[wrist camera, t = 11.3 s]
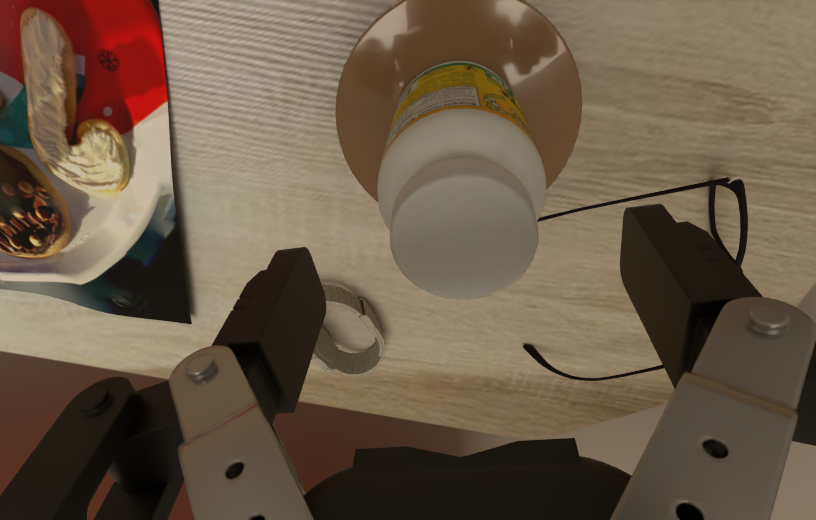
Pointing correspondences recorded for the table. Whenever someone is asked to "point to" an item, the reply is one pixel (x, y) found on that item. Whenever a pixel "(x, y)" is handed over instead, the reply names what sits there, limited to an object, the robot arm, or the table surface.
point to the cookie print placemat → (88, 158)
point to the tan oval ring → (339, 360)
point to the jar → (458, 41)
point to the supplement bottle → (461, 183)
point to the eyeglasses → (739, 190)
